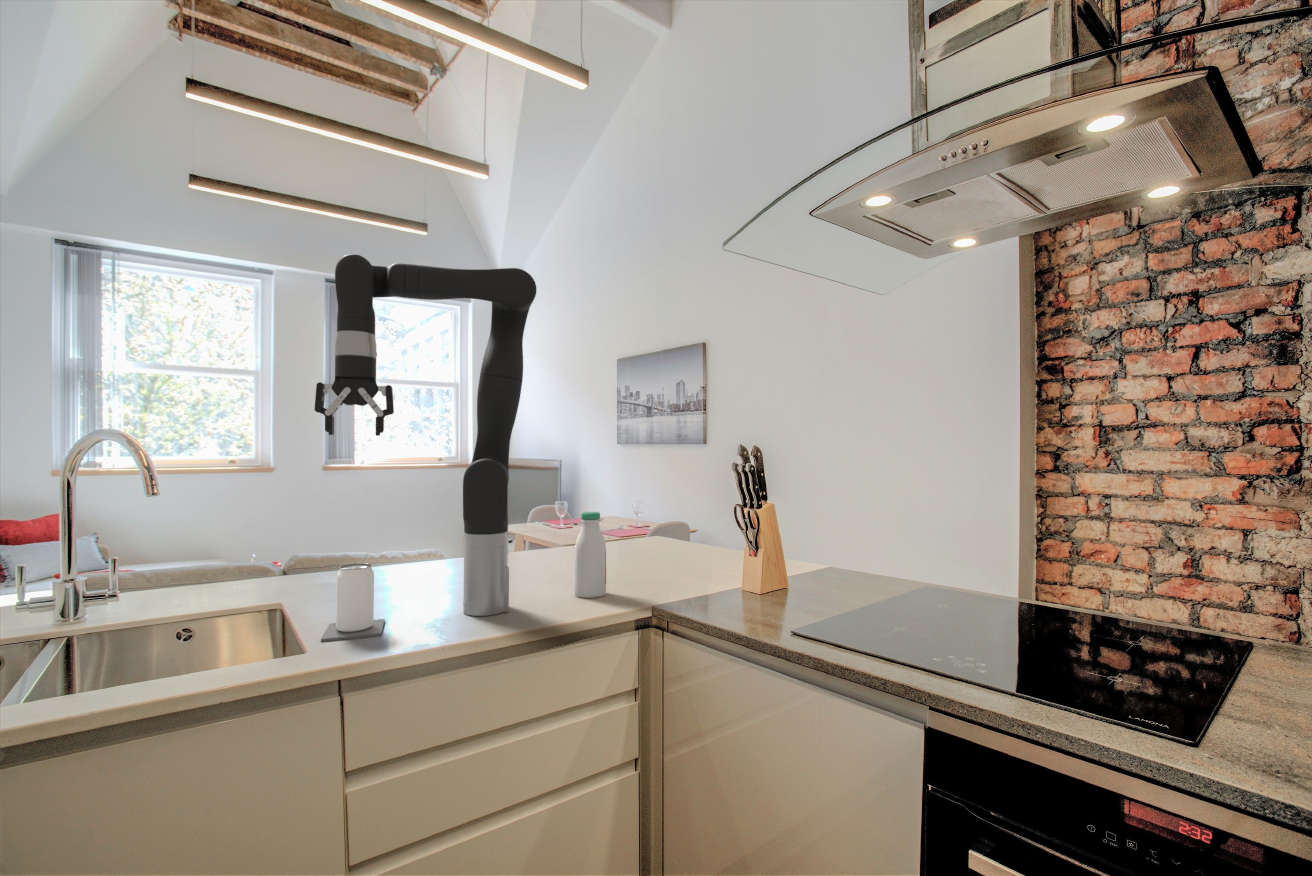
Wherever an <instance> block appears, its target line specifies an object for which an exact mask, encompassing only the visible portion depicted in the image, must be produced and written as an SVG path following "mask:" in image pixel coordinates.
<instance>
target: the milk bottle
mask: <svg viewBox="0 0 1312 876" xmlns="http://www.w3.org/2000/svg"><path fill="white" fill-rule="evenodd" d="M580 518H581V527H580V531H579V534H578V536H577V538H576V541H575V546H574V560H573V561H574V562H573V563H574V565H573V567H574V568H573V569H574V570H573V571H574V572H573V575H574V576H573V579H574V580H573V586H574V587H573V593H574V595H575V596H576V597H578V598H586V599H592V598H593V599H594V598H601V597H603V596H605V595H606V594H607V546H606V541H605V538H604V535H603V533H602V531H601V527H600V521H601V513H600V512H598V511H583V512H581V513H580Z"/></svg>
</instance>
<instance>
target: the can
mask: <svg viewBox="0 0 1312 876" xmlns="http://www.w3.org/2000/svg"><path fill="white" fill-rule="evenodd" d="M374 600H375V572H374V570H373V567H372V564H371V563H364V562H362V563H361V562H360V563H350V564H349V563H348V564H344V565H340V566H339V570H338V573H337V575H336V600H335V601H336V603H335V604H336V608H335V613H336V615H335V623H336V629H337V630H338V631H340V632H346V633H349V632H359V631H363V630H367V629H369V628H370V627H371V626H372V625H373V620H374V611H375V610H374V605H375V601H374Z"/></svg>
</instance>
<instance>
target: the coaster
mask: <svg viewBox="0 0 1312 876" xmlns="http://www.w3.org/2000/svg"><path fill="white" fill-rule="evenodd" d="M385 622H386V618H378V619H377V618H376V619H373V625H372V626H371V627H370V628H369V629H367V630H363V631H359V632H349V633H346V632H340V631H338V630H337V629H336V622H335V623H329V624H328V626H327V627H326V630H325V631H324V633H323V635H322V636H321V638H320V642H321V643H322V641H324V642H332V641H333V640H334V641H341V640H343V639H344V640H352V639H362V638H374V637H381V636H382V632H383V630H384V626H385ZM334 641H333V642H334Z"/></svg>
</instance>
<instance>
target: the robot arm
mask: <svg viewBox="0 0 1312 876" xmlns="http://www.w3.org/2000/svg"><path fill="white" fill-rule="evenodd" d="M335 265H336V266H335V270H334V282H335V283H334V285H335V294H336V300H337V301H336V303H337V314H336V315H337V316H336V337H335V344H334V345H335V346H334V349H335V350H334V351H335V352H334V381H333V383H332V384H331V383H330V384H328V383H322V382H320V381H319V382H317V383H316V387H315V399H314V400H315V401H314V411H315V412H316V413H318V414H322V415H324V430H325V432H326V433H328V435H329V436H335V416H334V415H335V413H336V412H337V411H338V410H339V409H340V408H341V407H342V406H343V405H346V406H356V405H357V406H361V407H365V406H366V405H368V406H369V407H370V408H371V409H372V410H373V412H374V413H375V414H376V416H375V436H377V437H378V436H381V434H383V432H385V431H384V430H385V425H384V424H385V417H387V416H390V415H394V414H395V413H394V412H395V410H394V394H393V393H394V392H393V390H394V389H393V387H392V386H391V385H390V384H386V385H377V384H378V383H377V356H378V351H377V340H376V312H375V310H374V309H375V308H374V305H373V304H374V303H373V301H374V300H373V299H374V298H392V297H394V298H395V297H396V298H404V299H405V298H406V299H414V300H415V299H417V300H426V301H427V300H428V301H437V300H439V301H441V300H443V301H444V300H455V299H470V300H482V301H487V302H491V321H490V322H491V323H490V331H489V337H488V340H487V344H486V348H485V351H484V355H483V359H482V362H481V363H482V364H481V368H480V373H479V380H478V387H477V397H476V398H477V399H476V416H477V417H476V419H477V420H476V421H477V423H476V425H477V432H476V433H477V434H476V441H475V447H474V451H473V456H472V460H471V463H470V464H469V466H468V467H467V468H466V470H465V472H464V474H463V478H462V519H463V520H462V521H463V527H464V528H463V604H462V605H463V613H464V614H465V615H468V616H473V617H474V616H476V617H478V616H480V617H485V616H493V615H499V614H501V613H506V612H507V613H508V612H509V611H510V605H509V604H510V567H509V566H508V564H509V561H508V560H509V559H508V558H509V557H508V556H509V551H508V550H509V547H508V545H509V543H508V541H509V538H508V537H509V516H508V515H509V513H508V509H509V508H508V504H509V502H508V494H509V490H508V489H509V482H510V475H509V470H510V469H509V463H510V462H509V461H510V460H509V459H510V443H511V439H512V438H511V437H512V433H513V429H514V425H515V421H516V418H517V415H518V408H519V404H520V400H521V394H522V393H521V392H522V386H523V380H524V379H523V377H524V351H523V350H524V349H523V345H524V344H523V339H524V332H525V327H526V324H527V319H528V315H529V311H530V308H531V306H532V304H533V303H534V300H535V298H536V296H537V285H536V281H535V279H534V278H533V277H532V275H531V274H530V273H528V272H527V271H526V270H524V269H522V268H518V267H507V268H505V267H504V268H503V267H502V268H490V269H488V268H487V269H483V268H482V269H474V268H473V269H468V268H467V269H466V268H451V267H440V266H431V265H423V264H413V263H406V262H405V263H403V262H397V263H396V262H395V263H393V264H391V265H388V266H386V265H372V263H371V262H370V261H369V260H368V259H366V258H365V257H364V256H363V255H361V254H356V253H350V254H345V255H344V256H342V257H341V258H340V259H338V261H337V263H336V264H335ZM331 390H332V391H333V392H334V393H333V394H335V395H336V398H335V399H334V400H333V401H332V402H331V403H330V405H329V406H328V407H327V408H325V407H324V406H325V396H326V395H328V394H329V393H330V391H331ZM378 392H381V395H382V396H383V397H385V402H386V406H385V407H386V408H385V409H381V408H380V406H379V404H378V403H377V402H376V401H375V400H374V397H375V396H376V395H377V393H378Z"/></svg>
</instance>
